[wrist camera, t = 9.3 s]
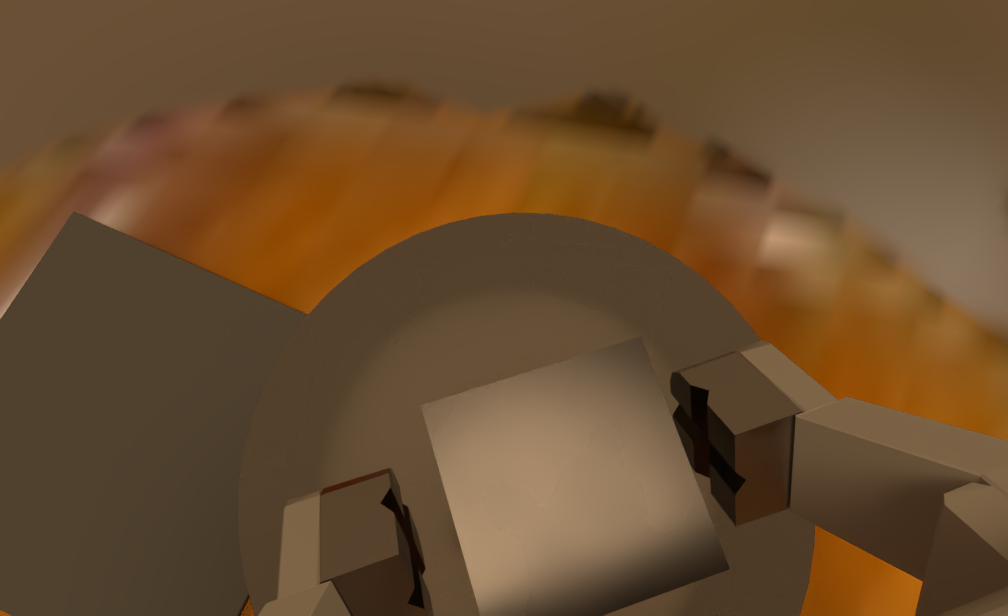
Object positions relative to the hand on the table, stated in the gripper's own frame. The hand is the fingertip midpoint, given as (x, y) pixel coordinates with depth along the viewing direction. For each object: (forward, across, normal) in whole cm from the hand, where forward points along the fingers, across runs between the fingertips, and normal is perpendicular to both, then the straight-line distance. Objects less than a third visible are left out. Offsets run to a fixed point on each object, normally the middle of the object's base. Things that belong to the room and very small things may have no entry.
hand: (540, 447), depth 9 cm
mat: (+18, -15, -9) cm, 25 cm away
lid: (+5, 0, -6) cm, 7 cm away
